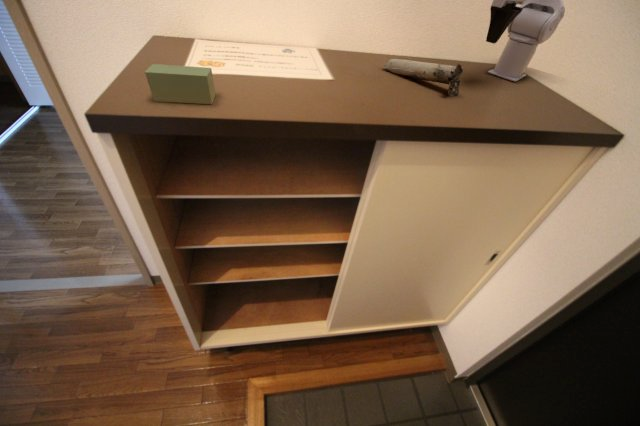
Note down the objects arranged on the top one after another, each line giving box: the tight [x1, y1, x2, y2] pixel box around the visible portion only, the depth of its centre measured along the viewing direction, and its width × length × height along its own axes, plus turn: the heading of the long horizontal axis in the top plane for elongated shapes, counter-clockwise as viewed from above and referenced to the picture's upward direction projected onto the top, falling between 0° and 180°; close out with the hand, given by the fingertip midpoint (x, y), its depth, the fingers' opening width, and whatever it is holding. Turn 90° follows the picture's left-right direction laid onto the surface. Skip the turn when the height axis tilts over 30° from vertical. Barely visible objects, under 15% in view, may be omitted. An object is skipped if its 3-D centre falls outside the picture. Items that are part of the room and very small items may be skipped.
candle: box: [382, 58, 464, 97], centre depth 69 cm, size 6×20×6 cm, turn 38°
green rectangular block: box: [144, 63, 216, 105], centre depth 51 cm, size 4×10×5 cm, turn 95°
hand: (490, 42), depth 68 cm, fingers closed
